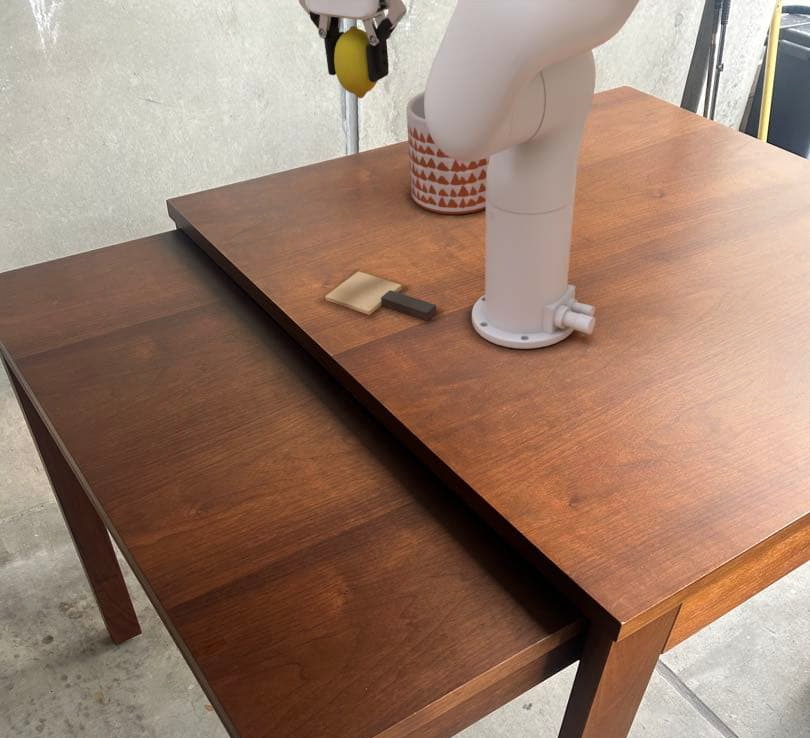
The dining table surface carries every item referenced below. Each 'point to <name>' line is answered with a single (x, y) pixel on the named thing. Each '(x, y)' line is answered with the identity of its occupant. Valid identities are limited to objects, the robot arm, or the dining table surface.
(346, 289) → the spatula
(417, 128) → the planter
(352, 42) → the lemon
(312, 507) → the dining table surface
